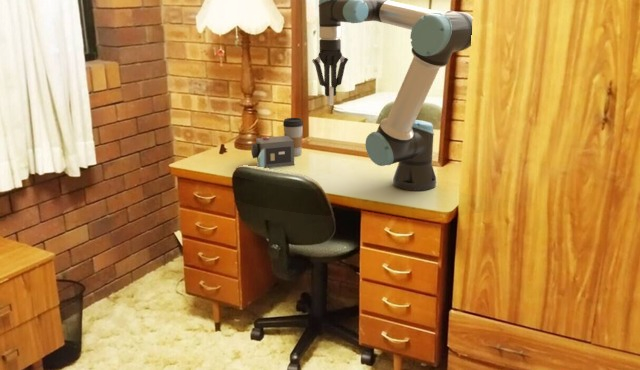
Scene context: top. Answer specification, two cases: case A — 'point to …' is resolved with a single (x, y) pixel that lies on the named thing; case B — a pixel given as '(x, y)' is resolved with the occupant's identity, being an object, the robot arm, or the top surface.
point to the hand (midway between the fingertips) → (330, 104)
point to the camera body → (275, 150)
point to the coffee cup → (294, 133)
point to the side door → (261, 158)
